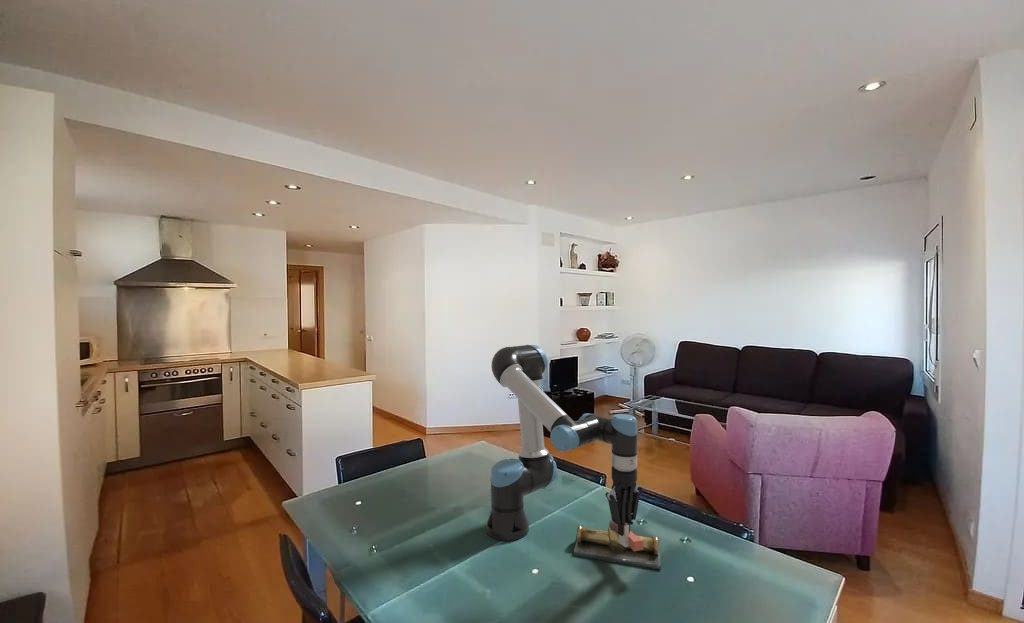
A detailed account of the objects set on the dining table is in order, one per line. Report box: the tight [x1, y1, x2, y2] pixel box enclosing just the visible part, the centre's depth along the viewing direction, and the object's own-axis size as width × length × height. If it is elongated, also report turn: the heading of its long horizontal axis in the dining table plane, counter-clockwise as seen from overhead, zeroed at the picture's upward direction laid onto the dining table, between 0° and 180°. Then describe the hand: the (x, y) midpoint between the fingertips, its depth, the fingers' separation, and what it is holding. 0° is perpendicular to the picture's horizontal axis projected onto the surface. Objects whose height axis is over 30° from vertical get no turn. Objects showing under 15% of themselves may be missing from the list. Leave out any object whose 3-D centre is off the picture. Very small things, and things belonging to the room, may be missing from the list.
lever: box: [608, 519, 643, 551], centre depth 128 cm, size 5×16×3 cm, turn 13°
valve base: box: [573, 524, 662, 571], centre depth 133 cm, size 26×14×7 cm, turn 73°
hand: (623, 544), depth 124 cm, fingers closed
